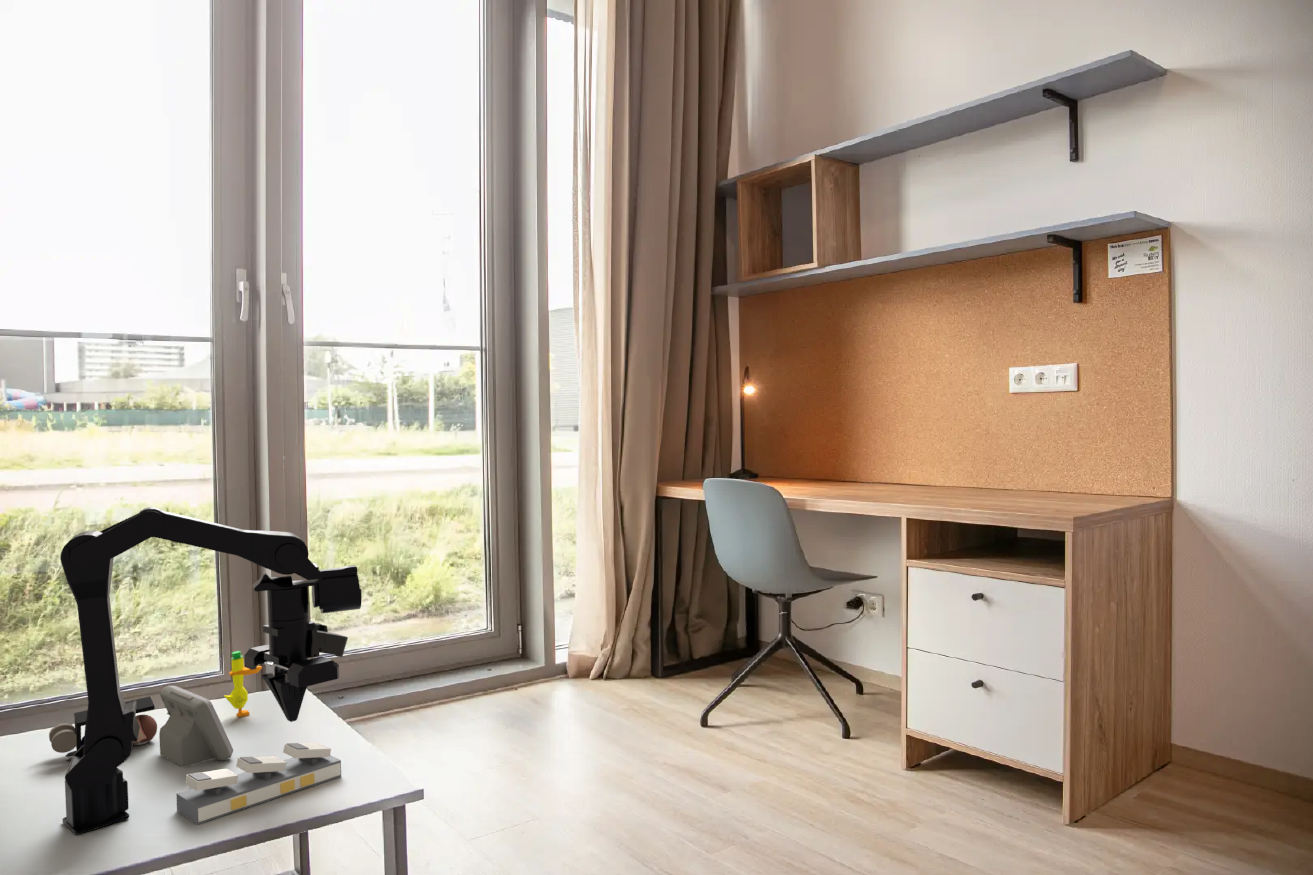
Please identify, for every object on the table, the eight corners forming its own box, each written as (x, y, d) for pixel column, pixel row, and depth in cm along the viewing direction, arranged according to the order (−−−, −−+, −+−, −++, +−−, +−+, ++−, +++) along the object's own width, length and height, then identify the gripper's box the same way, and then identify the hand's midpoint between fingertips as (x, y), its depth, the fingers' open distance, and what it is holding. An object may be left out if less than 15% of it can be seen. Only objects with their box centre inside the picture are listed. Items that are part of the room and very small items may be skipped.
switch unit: (198, 825, 122) (197, 800, 122) (177, 810, 127) (176, 786, 127) (342, 776, 137) (342, 754, 137) (318, 765, 142) (318, 743, 142)
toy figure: (260, 708, 172) (258, 645, 172) (265, 713, 170) (263, 649, 169) (222, 716, 168) (219, 652, 168) (226, 721, 165) (224, 655, 165)
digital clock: (236, 761, 145) (233, 695, 145) (173, 776, 140) (170, 708, 140) (213, 735, 158) (210, 675, 158) (155, 748, 153) (152, 685, 152)
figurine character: (56, 776, 145) (162, 743, 154) (48, 730, 144) (154, 700, 153) (54, 764, 150) (156, 733, 159) (45, 720, 150) (149, 691, 159)
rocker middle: (248, 772, 129) (250, 763, 129) (236, 766, 131) (238, 756, 132) (284, 770, 133) (286, 761, 133) (272, 764, 135) (274, 754, 136)
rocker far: (295, 758, 134) (297, 748, 134) (283, 752, 137) (284, 742, 137) (329, 756, 138) (331, 747, 138) (316, 750, 141) (318, 741, 141)
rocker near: (196, 790, 124) (197, 780, 124) (185, 783, 126) (186, 773, 126) (237, 783, 128) (238, 773, 128) (225, 776, 130) (226, 767, 130)
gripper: (370, 615, 135) (373, 719, 135) (310, 601, 148) (313, 695, 148) (298, 629, 127) (302, 740, 127) (241, 613, 139) (244, 713, 140)
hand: (292, 720), depth 136 cm, fingers closed
